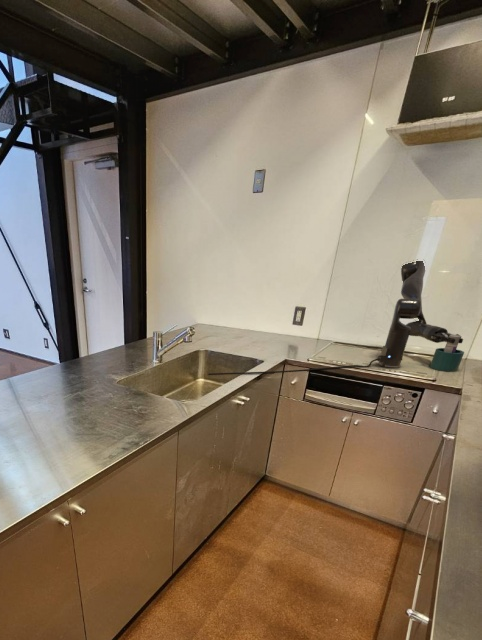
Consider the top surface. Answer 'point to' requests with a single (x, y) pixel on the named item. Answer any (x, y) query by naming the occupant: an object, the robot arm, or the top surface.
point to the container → (452, 344)
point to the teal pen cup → (446, 360)
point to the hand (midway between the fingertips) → (457, 341)
